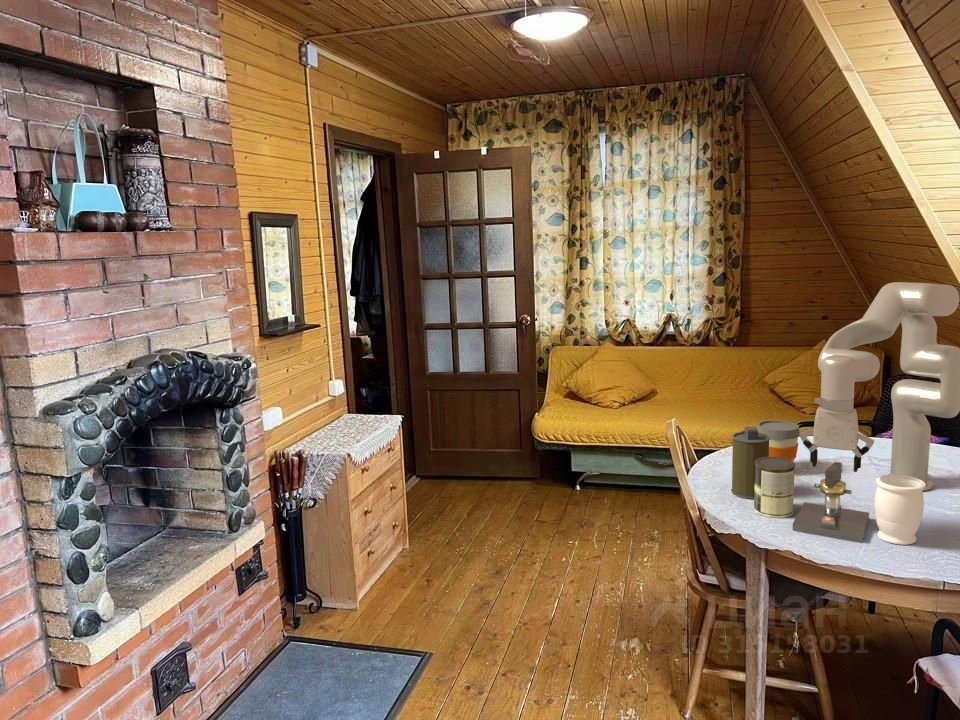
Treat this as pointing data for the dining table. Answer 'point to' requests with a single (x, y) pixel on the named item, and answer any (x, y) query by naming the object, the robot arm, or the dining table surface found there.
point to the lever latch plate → (831, 520)
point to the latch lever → (833, 481)
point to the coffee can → (774, 487)
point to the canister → (747, 460)
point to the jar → (898, 508)
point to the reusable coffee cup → (781, 438)
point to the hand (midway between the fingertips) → (835, 467)
